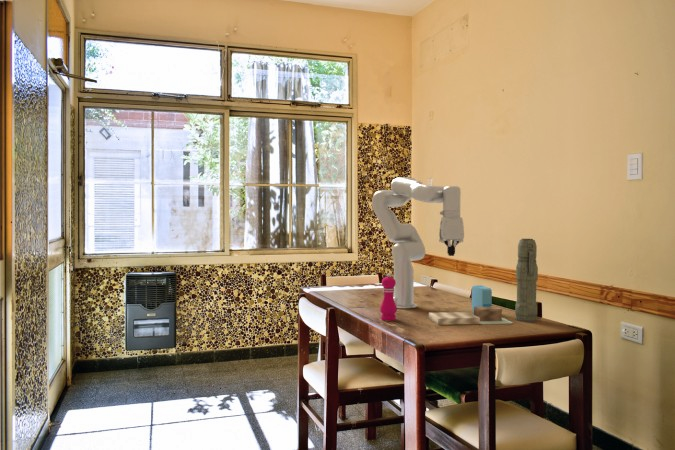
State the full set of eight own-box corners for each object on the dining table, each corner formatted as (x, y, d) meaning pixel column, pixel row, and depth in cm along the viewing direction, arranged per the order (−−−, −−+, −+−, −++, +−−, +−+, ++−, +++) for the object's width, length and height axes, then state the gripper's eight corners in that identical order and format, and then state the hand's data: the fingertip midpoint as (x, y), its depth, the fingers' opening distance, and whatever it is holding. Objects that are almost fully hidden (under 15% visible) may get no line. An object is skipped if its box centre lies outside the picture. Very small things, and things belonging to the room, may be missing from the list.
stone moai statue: (523, 323, 229) (524, 239, 228) (510, 317, 240) (511, 238, 239) (542, 322, 230) (544, 239, 229) (529, 317, 242) (530, 238, 241)
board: (437, 324, 225) (437, 318, 225) (428, 318, 238) (428, 312, 238) (479, 323, 227) (479, 317, 227) (468, 317, 240) (468, 311, 240)
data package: (491, 315, 246) (492, 288, 246) (482, 315, 245) (482, 288, 245) (480, 310, 258) (480, 285, 257) (471, 310, 257) (471, 285, 257)
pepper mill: (398, 318, 237) (398, 272, 237) (394, 321, 230) (395, 274, 230) (382, 317, 240) (382, 271, 239) (378, 320, 233) (378, 273, 232)
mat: (480, 324, 226) (480, 323, 226) (467, 317, 241) (467, 316, 241) (512, 323, 228) (512, 322, 228) (498, 316, 242) (498, 315, 242)
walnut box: (478, 321, 230) (478, 309, 230) (473, 318, 236) (473, 306, 236) (501, 320, 231) (502, 309, 231) (496, 318, 237) (496, 306, 237)
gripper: (437, 214, 237) (437, 256, 237) (470, 214, 238) (470, 256, 239) (432, 214, 244) (432, 255, 244) (464, 214, 246) (464, 254, 246)
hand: (451, 255), depth 242 cm, fingers closed
